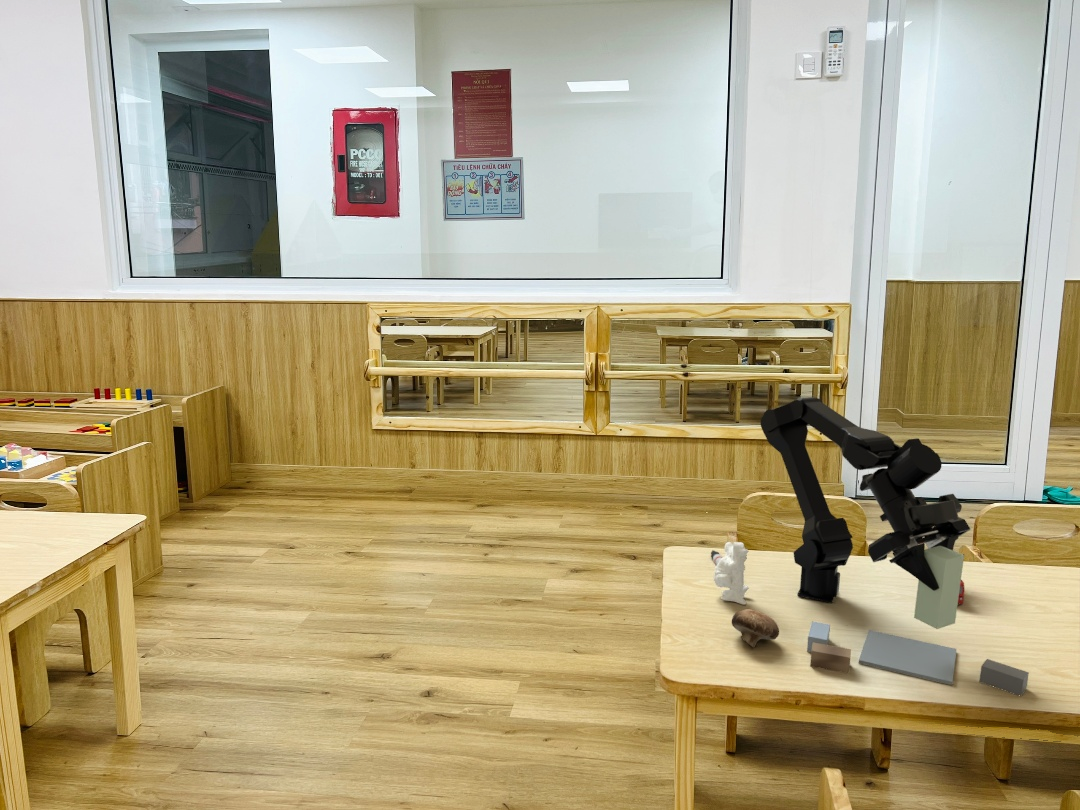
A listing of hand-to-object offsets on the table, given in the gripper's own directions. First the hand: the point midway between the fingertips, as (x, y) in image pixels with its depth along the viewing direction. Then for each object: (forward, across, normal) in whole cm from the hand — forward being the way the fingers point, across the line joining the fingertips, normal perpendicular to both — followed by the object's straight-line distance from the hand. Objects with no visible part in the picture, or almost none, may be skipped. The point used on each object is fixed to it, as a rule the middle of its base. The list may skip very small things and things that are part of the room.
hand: (946, 586), depth 138 cm
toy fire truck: (-3, +26, +22) cm, 34 cm away
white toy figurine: (-14, -14, +34) cm, 40 cm away
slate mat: (+7, -3, +12) cm, 14 cm away
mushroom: (-4, -22, +23) cm, 33 cm away
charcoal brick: (+16, +3, +3) cm, 17 cm away
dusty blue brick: (0, -13, +19) cm, 23 cm away
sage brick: (+4, 0, +6) cm, 7 cm away
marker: (-22, -7, +43) cm, 49 cm away
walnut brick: (+5, -17, +15) cm, 23 cm away
